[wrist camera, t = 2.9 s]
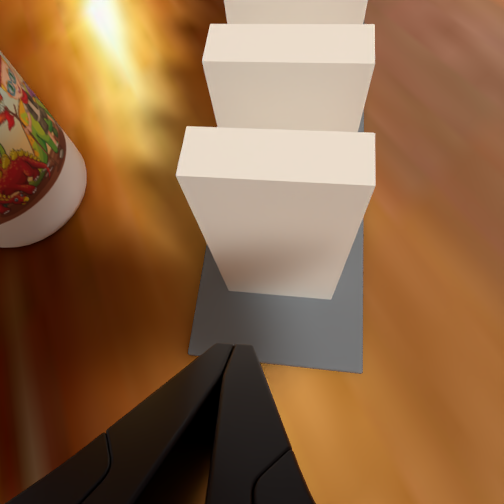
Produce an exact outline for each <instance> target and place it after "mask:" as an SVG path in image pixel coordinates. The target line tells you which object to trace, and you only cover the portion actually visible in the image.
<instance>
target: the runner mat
mask: <svg viewBox="0 0 504 504" xmlns="http://www.w3.org/2000/svg"><path fill="white" fill-rule="evenodd" d="M363 24H364V22H363ZM358 132H364V109H363V113H362V117H361V121H360V125H359V129H358ZM216 343H232V344H234V346H235V345H236V344H250V345H253V347H254V349H255V351H256V354H257V357H258V359H259V362H260V363H267V364H277V365H286V366H295V367H304V368H313V369H323V370H332V371H341V372H350V373H359V374H361V373H363V219H362V222H361V224H360V227H359V229H358V232H357V234H356V237H355V240H354V242H353V245H352V247H351V250H350V252H349V255H348V258H347V260H346V263H345V265H344V268H343V271H342V273H341V276H340V278H339V281H338V283H337V286H336V289H335V291H334V294H333V296H332V299H331V300H329V299H317V298H306V297H294V296H283V295H271V294H260V293H248V292H237V291H229V290H228V288H227V286H226V284H225V281H224V279H223V277H222V275H221V273H220V271H219V268H218V266H217V264H216V262H215V260H214V258H213V255H212V253H211V251H210V249H209V247H208V245H207V246H206V252H205V257H204V263H203V269H202V275H201V280H200V286H199V292H198V298H197V303H196V309H195V315H194V321H193V326H192V332H191V338H190V344H189V349H188V354H189V355H194V356H200V355H202V354H203V353H204V352H205V351H207V350H208V349H209V348H210V347H212V346H213V345H214V344H216Z"/></svg>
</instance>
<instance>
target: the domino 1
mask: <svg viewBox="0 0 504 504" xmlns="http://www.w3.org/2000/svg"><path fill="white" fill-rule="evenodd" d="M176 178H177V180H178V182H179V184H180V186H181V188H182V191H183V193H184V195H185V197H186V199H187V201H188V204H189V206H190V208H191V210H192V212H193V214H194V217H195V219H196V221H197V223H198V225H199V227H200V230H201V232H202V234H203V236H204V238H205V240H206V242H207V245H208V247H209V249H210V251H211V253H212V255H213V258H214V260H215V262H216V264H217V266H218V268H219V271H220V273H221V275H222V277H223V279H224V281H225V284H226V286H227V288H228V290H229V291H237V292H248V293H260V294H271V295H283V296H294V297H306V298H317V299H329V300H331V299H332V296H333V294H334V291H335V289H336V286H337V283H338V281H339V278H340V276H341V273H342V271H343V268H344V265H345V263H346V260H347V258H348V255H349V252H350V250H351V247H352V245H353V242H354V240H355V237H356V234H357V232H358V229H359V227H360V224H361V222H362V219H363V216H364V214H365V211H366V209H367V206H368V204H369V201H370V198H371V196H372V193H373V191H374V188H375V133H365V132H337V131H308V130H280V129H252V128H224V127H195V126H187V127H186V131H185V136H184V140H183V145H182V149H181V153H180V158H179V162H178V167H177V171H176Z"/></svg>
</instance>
